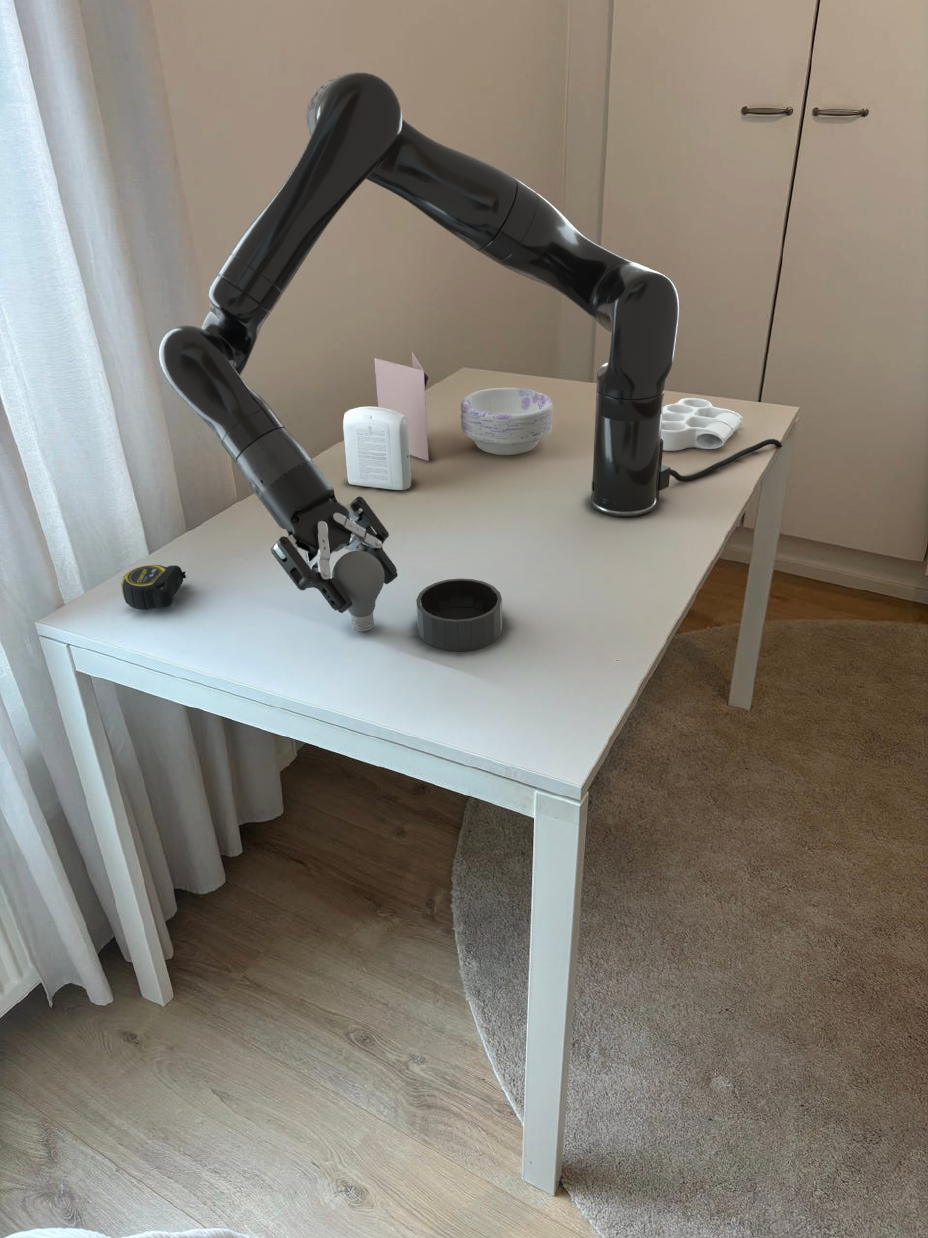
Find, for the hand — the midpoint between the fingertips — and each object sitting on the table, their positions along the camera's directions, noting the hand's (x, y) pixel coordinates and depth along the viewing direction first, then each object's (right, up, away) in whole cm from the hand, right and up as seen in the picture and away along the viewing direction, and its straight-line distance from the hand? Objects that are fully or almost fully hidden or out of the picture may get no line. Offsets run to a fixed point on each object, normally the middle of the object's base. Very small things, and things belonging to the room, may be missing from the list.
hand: (370, 594), depth 109 cm
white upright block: (-2, +18, +40) cm, 44 cm away
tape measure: (-27, -1, +11) cm, 30 cm away
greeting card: (+1, +25, +52) cm, 58 cm away
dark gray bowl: (+10, -4, +3) cm, 11 cm away
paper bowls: (+18, +26, +52) cm, 61 cm away
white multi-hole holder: (+49, +29, +54) cm, 79 cm away
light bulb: (-1, -4, +4) cm, 6 cm away
